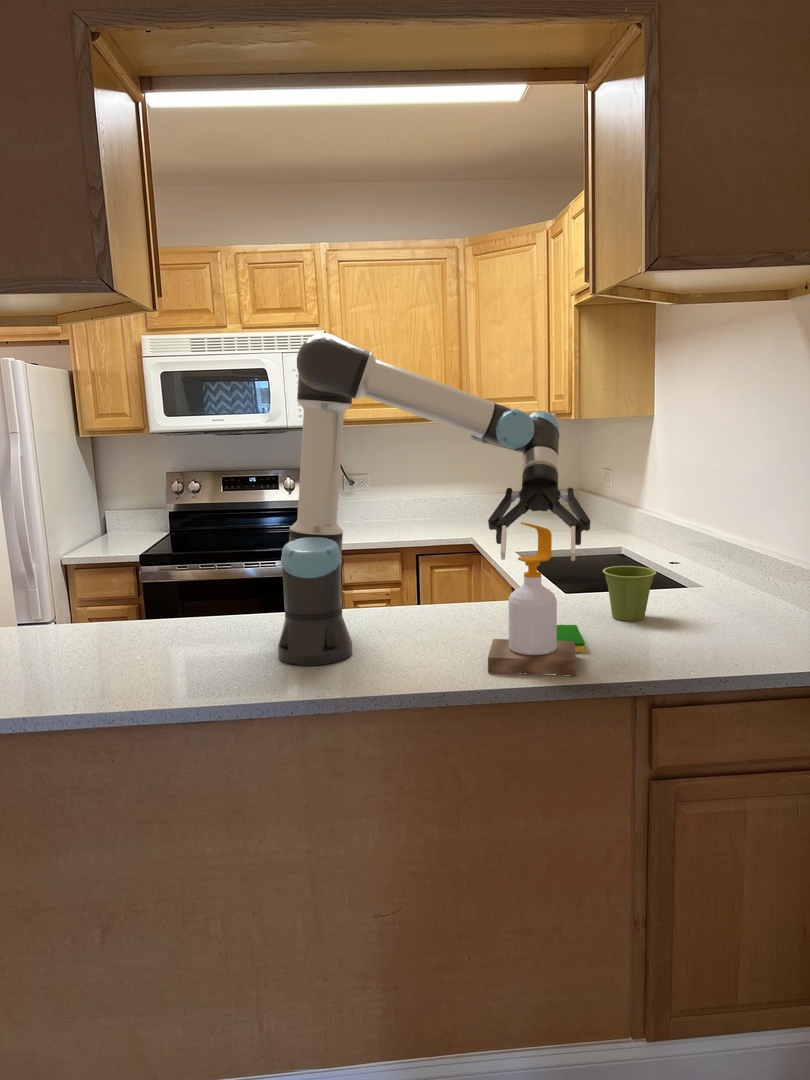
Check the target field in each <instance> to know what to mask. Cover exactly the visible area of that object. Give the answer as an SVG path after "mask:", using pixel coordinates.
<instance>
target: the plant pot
mask: <svg viewBox="0 0 810 1080" xmlns="http://www.w3.org/2000/svg"><path fill="white" fill-rule="evenodd" d="M602 572H603V574H605V575H604V576H605V580H606V581H605V582H606V583H607V589H608V595H609V601H610V602H609V603H610V609H611V616H612V618H613V619H615V620H616V621H627V622H640V621H642V620H644V619H645V616H646V611H647V607H648V606H647V605H648V601H649V596H650V591H651V586H652V584H653V580H654V576H655V575H656V574H657V571H656V570H655V569H652V568H649V567H643V566H633V565H619V566H617V565H616V566H609V567H605V568H604V569H603V570H602Z"/></svg>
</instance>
